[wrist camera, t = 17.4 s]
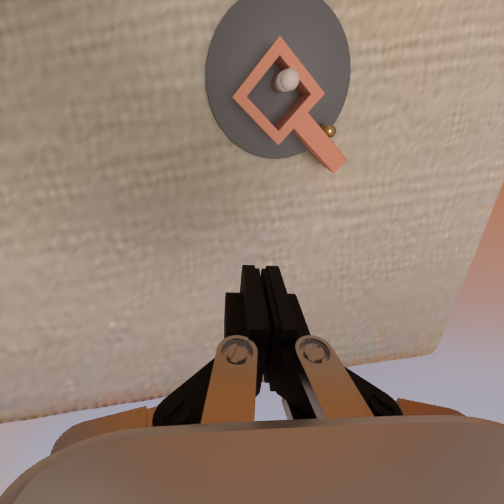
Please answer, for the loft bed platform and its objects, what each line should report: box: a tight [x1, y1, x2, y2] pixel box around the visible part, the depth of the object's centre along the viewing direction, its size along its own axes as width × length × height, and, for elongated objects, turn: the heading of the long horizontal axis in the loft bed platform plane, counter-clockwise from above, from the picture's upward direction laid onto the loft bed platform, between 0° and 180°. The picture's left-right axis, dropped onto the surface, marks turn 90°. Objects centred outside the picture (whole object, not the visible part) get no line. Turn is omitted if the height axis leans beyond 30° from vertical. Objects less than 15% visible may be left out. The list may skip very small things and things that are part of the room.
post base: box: [206, 0, 350, 159], centre depth 27 cm, size 16×16×7 cm
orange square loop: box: [232, 36, 347, 173], centre depth 29 cm, size 14×7×4 cm, turn 47°
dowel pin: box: [319, 124, 336, 137], centre depth 31 cm, size 1×1×3 cm
